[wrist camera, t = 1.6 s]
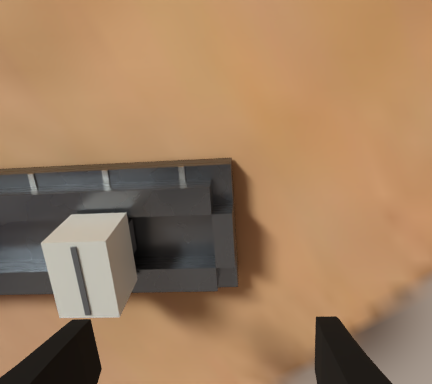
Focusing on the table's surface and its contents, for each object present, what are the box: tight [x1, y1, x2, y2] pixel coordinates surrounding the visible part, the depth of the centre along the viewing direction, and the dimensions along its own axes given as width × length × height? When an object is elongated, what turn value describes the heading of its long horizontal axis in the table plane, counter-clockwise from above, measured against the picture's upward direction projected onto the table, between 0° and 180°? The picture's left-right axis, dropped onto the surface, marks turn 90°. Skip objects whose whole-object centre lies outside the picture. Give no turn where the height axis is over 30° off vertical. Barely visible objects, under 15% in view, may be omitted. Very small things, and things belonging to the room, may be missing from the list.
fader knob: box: [41, 212, 138, 318], centre depth 19 cm, size 4×3×5 cm
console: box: [0, 158, 238, 295], centre depth 21 cm, size 8×21×3 cm, turn 94°
